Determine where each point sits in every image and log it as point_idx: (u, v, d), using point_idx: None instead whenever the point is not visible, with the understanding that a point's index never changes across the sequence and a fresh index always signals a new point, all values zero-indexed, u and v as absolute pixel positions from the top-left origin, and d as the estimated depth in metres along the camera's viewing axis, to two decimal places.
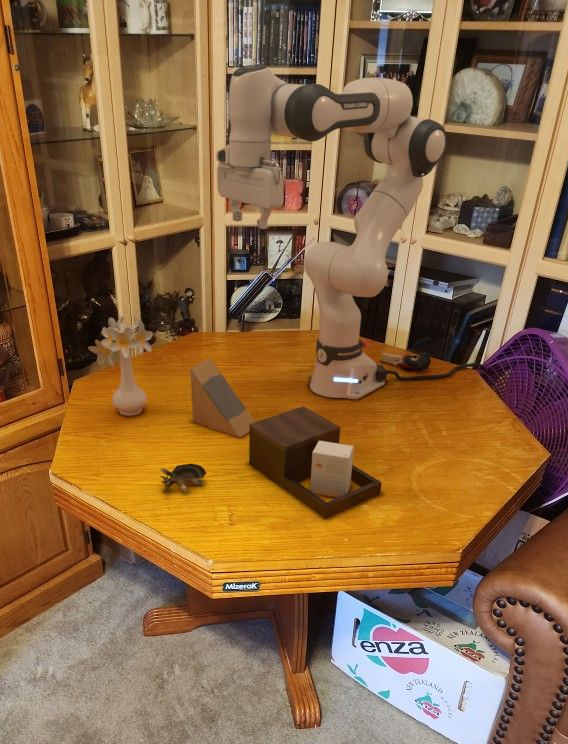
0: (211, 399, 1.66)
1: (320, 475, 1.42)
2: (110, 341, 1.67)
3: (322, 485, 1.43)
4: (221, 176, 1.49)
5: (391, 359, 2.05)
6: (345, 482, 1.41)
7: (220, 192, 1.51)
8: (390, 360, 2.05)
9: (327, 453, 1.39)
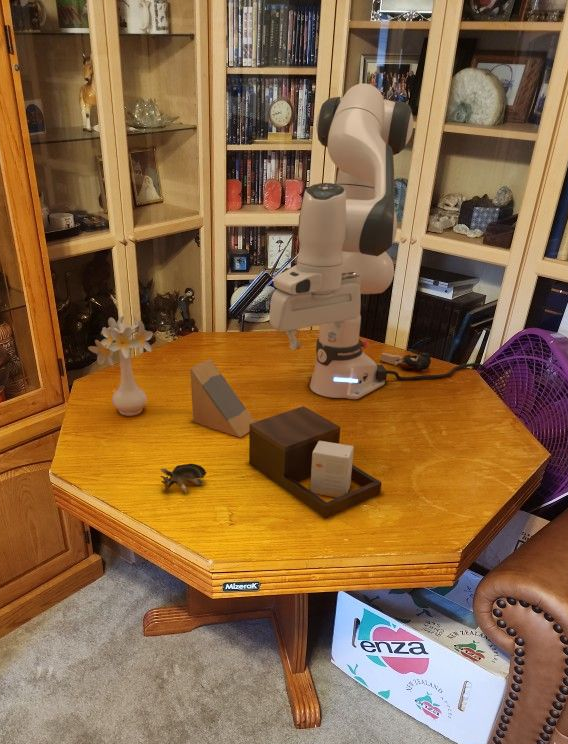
0: (211, 399, 1.66)
1: (320, 475, 1.42)
2: (110, 341, 1.67)
3: (322, 485, 1.43)
4: (288, 310, 1.27)
5: (391, 359, 2.05)
6: (345, 482, 1.41)
7: (284, 327, 1.29)
8: (390, 360, 2.05)
9: (327, 453, 1.39)
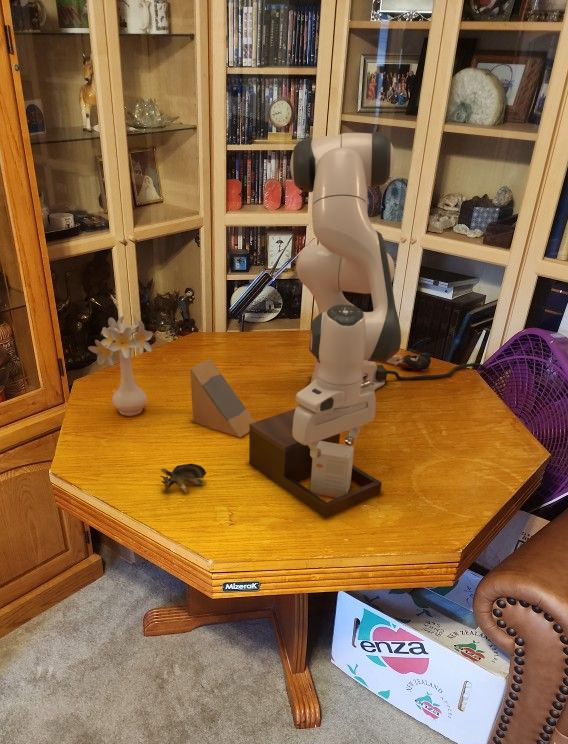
0: (211, 399, 1.66)
1: (320, 475, 1.42)
2: (110, 341, 1.67)
3: (322, 485, 1.43)
4: (312, 426, 1.30)
5: (392, 359, 2.05)
6: (345, 482, 1.41)
7: (308, 441, 1.32)
8: (390, 360, 2.05)
9: (327, 454, 1.39)
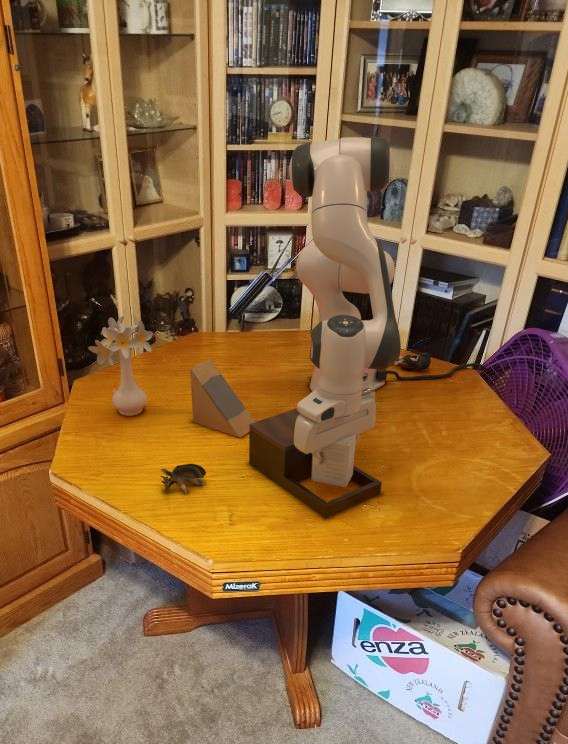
0: (211, 399, 1.66)
1: None
2: (110, 341, 1.67)
3: (323, 473, 1.42)
4: (313, 435, 1.32)
5: None
6: (346, 470, 1.40)
7: (309, 450, 1.34)
8: None
9: None
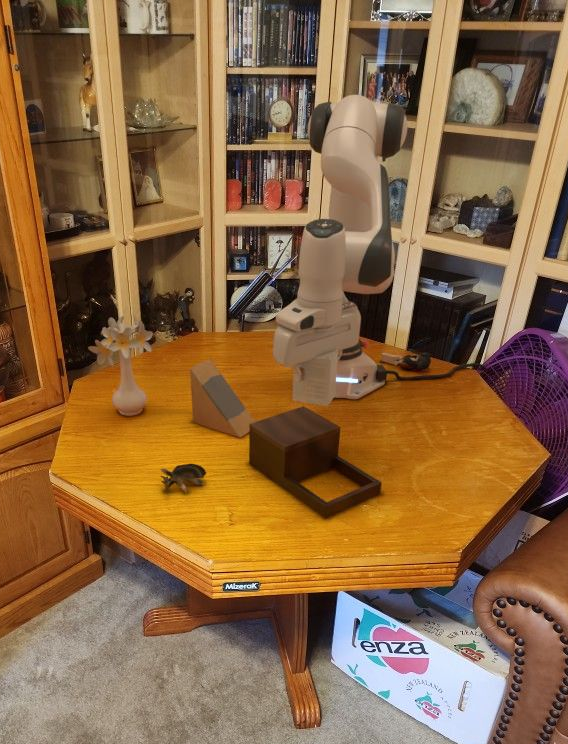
0: (211, 399, 1.66)
1: None
2: (110, 341, 1.67)
3: (304, 392, 1.38)
4: (292, 346, 1.28)
5: (392, 359, 2.05)
6: (327, 387, 1.36)
7: (289, 362, 1.29)
8: (390, 360, 2.05)
9: None
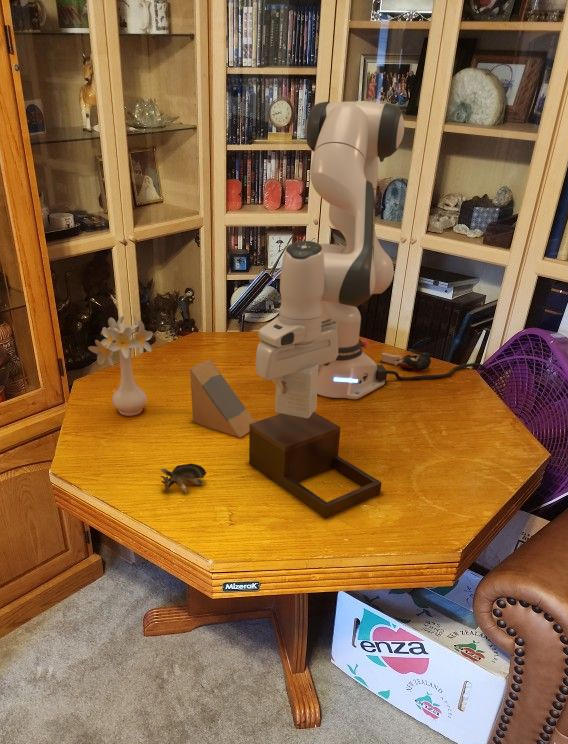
0: (211, 399, 1.66)
1: None
2: (110, 341, 1.67)
3: (286, 404, 1.44)
4: (273, 361, 1.34)
5: (392, 359, 2.05)
6: (308, 400, 1.42)
7: (270, 376, 1.36)
8: (390, 360, 2.05)
9: None
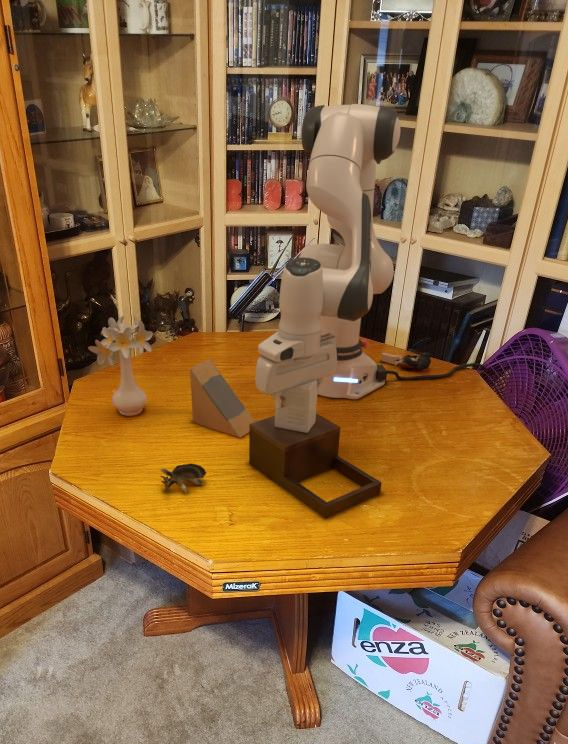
0: (211, 399, 1.66)
1: (283, 408, 1.45)
2: (110, 341, 1.67)
3: (285, 419, 1.46)
4: (273, 375, 1.36)
5: (392, 359, 2.05)
6: (307, 415, 1.44)
7: (270, 391, 1.37)
8: (390, 360, 2.05)
9: None
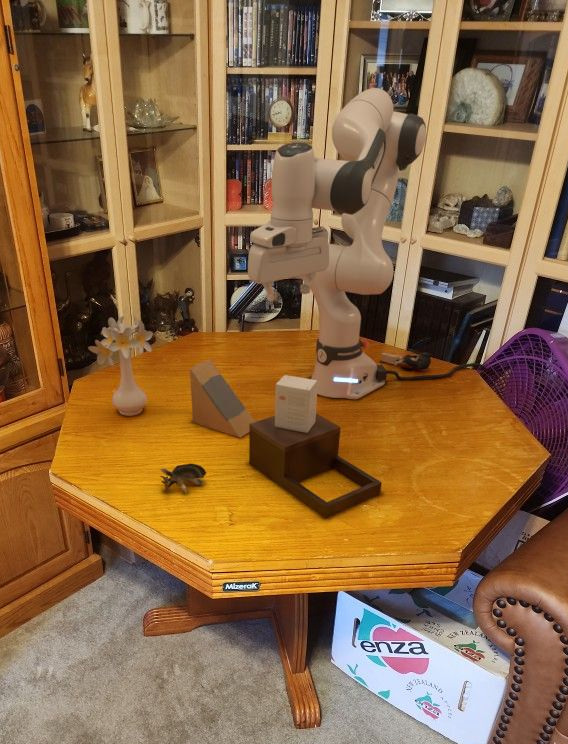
0: (211, 399, 1.66)
1: (283, 408, 1.45)
2: (110, 341, 1.67)
3: (285, 419, 1.46)
4: (265, 262, 1.37)
5: (392, 359, 2.05)
6: (307, 415, 1.44)
7: (262, 279, 1.39)
8: (390, 360, 2.05)
9: (289, 386, 1.42)
